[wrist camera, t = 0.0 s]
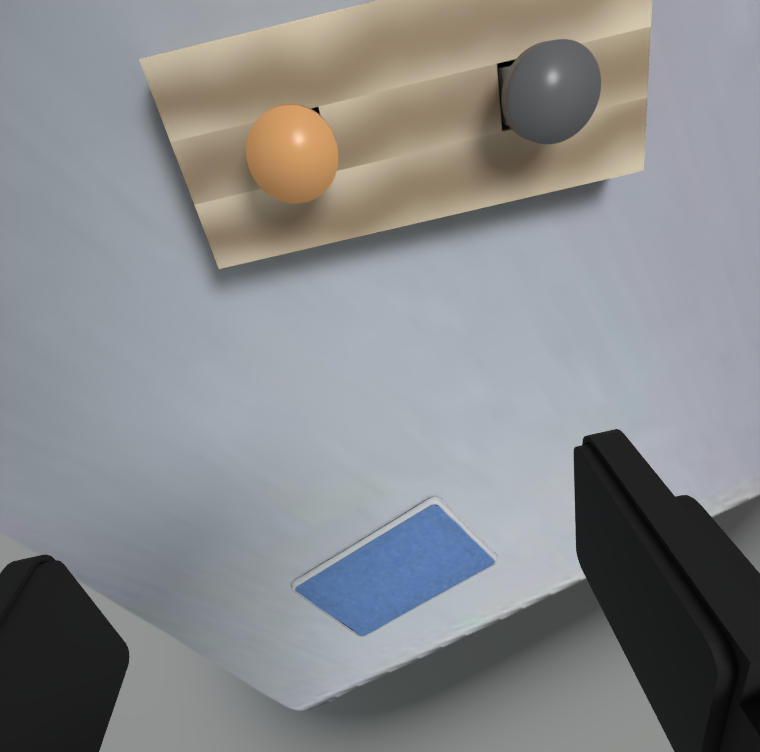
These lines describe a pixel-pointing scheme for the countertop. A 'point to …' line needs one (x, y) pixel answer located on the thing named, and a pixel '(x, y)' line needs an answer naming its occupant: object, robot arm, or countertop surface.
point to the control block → (395, 114)
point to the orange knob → (292, 153)
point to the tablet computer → (396, 568)
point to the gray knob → (549, 91)
